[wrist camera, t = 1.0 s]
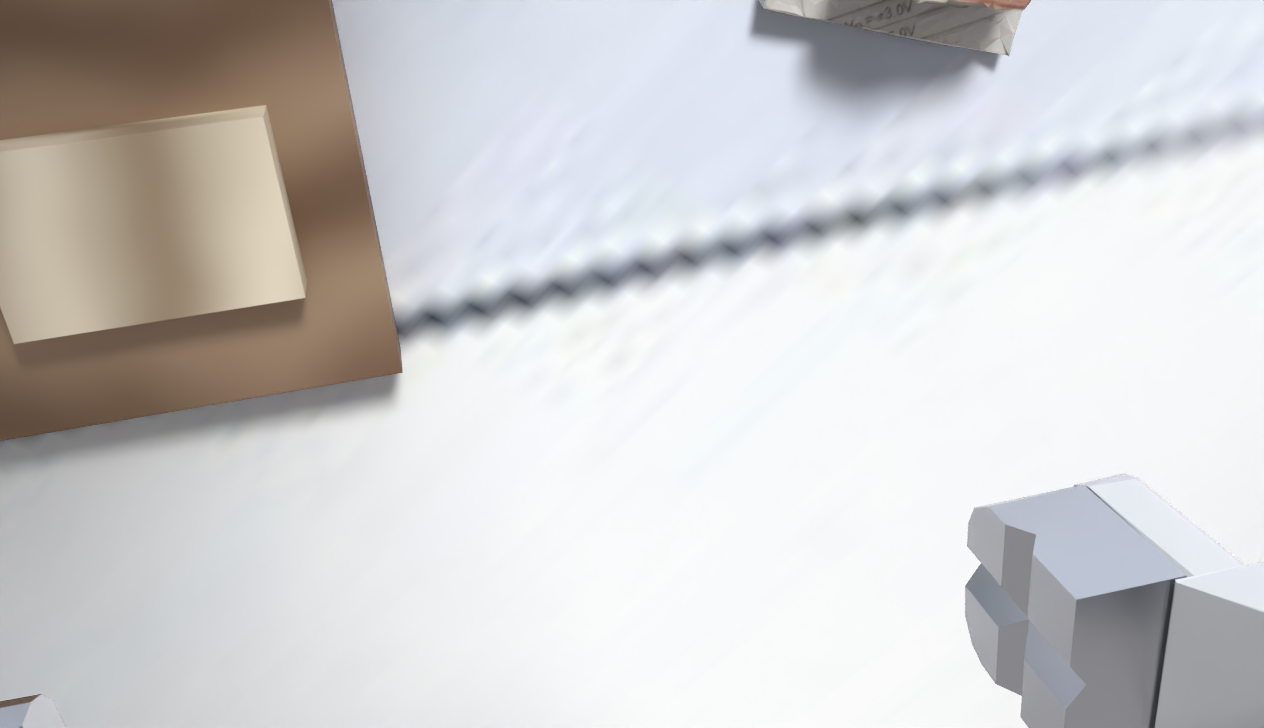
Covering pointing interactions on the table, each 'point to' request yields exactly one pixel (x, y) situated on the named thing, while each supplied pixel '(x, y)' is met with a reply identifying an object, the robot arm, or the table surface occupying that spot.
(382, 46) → the table surface
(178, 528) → the table surface
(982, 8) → the packaged product
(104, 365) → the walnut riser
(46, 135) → the birch block
